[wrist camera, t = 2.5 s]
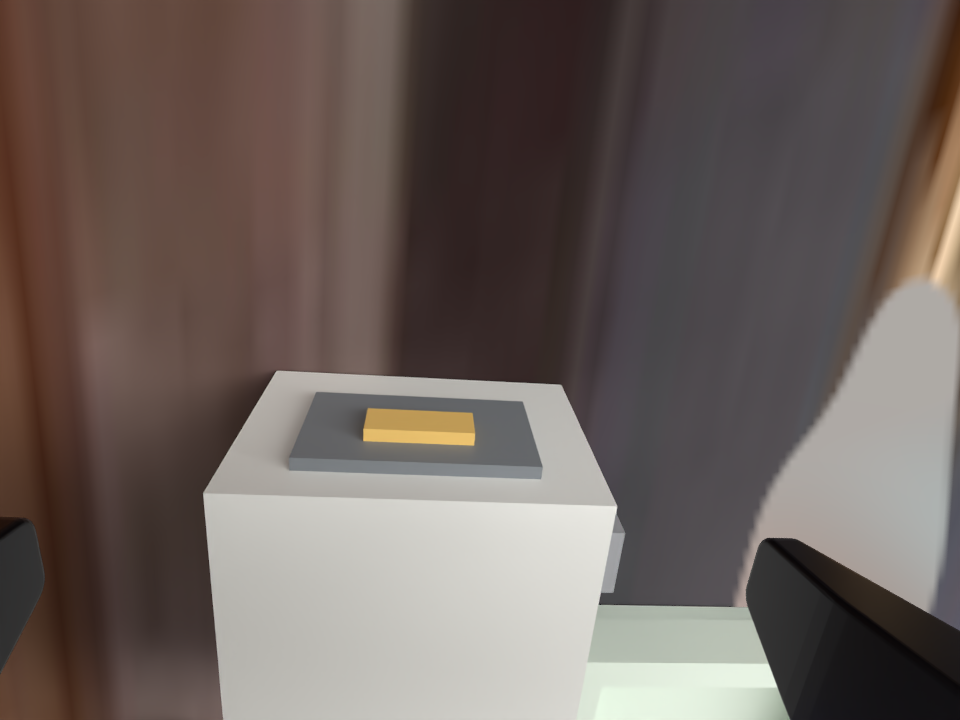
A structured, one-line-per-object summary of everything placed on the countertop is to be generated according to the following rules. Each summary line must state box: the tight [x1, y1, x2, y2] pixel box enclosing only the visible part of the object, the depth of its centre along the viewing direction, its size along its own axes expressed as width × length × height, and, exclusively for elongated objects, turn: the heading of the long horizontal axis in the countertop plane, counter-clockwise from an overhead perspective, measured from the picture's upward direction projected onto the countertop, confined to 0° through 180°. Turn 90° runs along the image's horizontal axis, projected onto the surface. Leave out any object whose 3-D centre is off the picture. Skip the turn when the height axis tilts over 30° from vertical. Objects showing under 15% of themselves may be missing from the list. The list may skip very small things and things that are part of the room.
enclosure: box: [203, 371, 625, 720], centre depth 16 cm, size 9×10×6 cm
